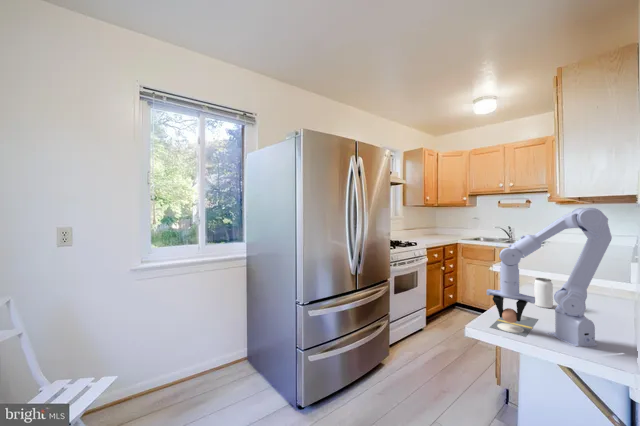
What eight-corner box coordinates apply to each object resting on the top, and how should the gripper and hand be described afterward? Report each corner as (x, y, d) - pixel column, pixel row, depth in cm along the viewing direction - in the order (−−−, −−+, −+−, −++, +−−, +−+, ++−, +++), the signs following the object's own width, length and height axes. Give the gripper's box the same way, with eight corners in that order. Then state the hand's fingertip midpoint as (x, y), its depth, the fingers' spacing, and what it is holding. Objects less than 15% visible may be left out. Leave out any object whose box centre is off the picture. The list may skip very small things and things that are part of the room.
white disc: (529, 332, 98) (529, 331, 98) (508, 333, 97) (508, 333, 97) (511, 323, 106) (511, 322, 106) (492, 324, 105) (492, 323, 105)
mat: (525, 338, 94) (525, 336, 94) (489, 328, 102) (489, 327, 102) (538, 320, 109) (538, 318, 109) (505, 313, 117) (505, 311, 117)
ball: (522, 324, 99) (521, 310, 99) (508, 325, 98) (508, 311, 98) (511, 319, 104) (510, 306, 104) (498, 320, 103) (498, 306, 103)
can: (556, 309, 121) (556, 281, 121) (539, 308, 122) (539, 280, 122) (547, 304, 127) (547, 277, 127) (531, 303, 129) (531, 277, 129)
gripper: (536, 282, 99) (537, 321, 99) (490, 276, 109) (490, 310, 109) (532, 286, 94) (533, 326, 94) (484, 279, 104) (485, 315, 104)
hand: (510, 318), depth 101 cm, fingers closed on ball, 5 cm apart
